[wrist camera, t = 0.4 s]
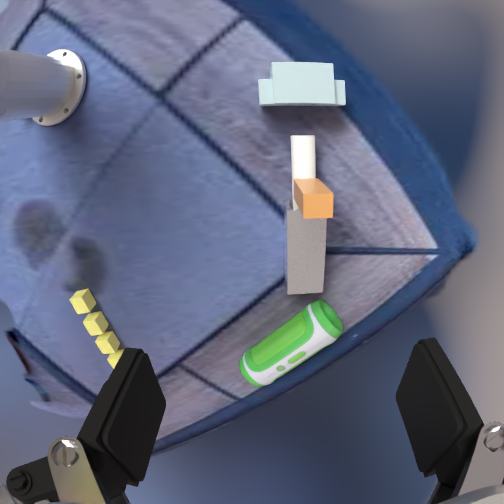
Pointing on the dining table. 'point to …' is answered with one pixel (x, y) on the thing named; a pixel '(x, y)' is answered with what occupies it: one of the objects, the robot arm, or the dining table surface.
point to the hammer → (308, 180)
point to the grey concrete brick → (303, 251)
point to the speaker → (291, 344)
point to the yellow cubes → (97, 325)
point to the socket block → (301, 85)
